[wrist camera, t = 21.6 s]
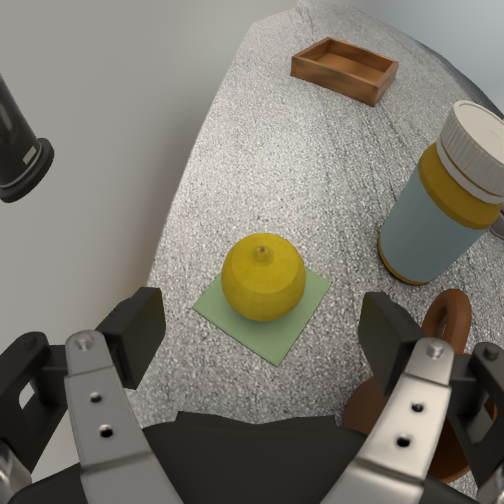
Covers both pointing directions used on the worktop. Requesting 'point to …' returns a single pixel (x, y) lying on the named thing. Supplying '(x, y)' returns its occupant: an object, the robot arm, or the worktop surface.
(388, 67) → the crate
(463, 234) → the bottle
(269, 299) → the fruit
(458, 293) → the mug
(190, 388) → the worktop surface
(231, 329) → the mat
